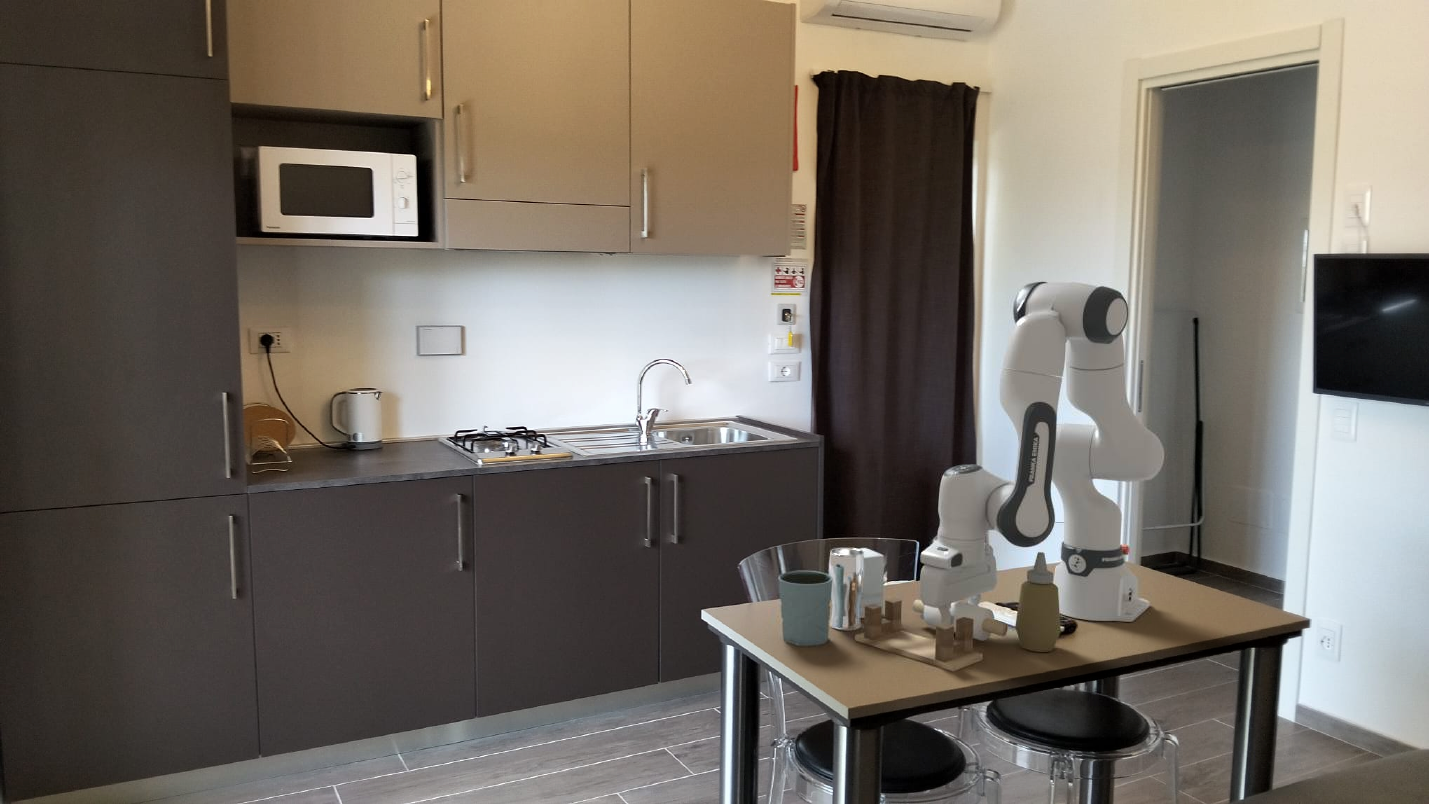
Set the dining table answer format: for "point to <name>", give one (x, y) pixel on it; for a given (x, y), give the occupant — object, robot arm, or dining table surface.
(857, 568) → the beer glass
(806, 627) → the embossed teal cup
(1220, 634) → the dining table surface
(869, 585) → the supplement box
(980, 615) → the paper roll
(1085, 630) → the dining table surface
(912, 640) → the roll holder
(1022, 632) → the squeeze bottle
